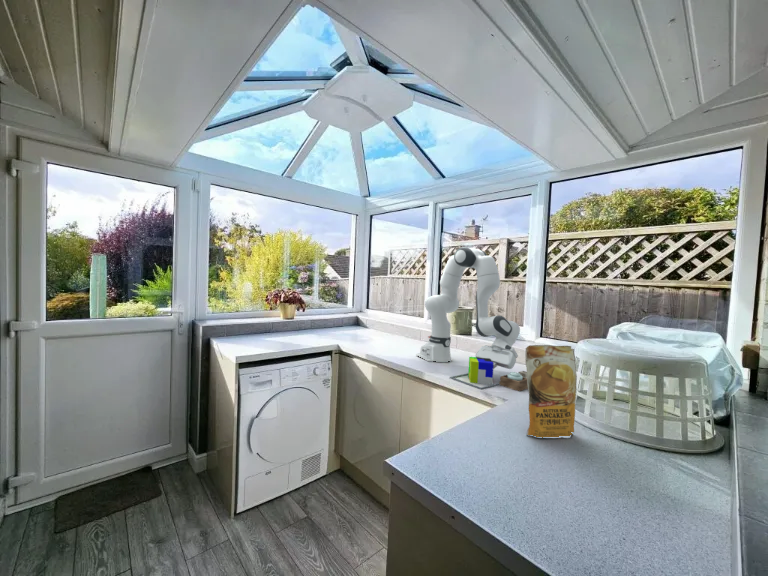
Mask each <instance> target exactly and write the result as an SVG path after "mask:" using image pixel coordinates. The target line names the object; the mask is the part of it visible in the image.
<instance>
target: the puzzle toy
mask: <svg viewBox="0 0 768 576" xmlns="http://www.w3.org/2000/svg"><path fill="white" fill-rule="evenodd" d="M493 364H494V363H493V362H492V361H491V359H490V358H478V357H476V356H469V358H468V372H467V373H468V375H467V377H468V380H469V383H470V384H479V385H480V384H481V385H493V379H494V378H493V377H494V369H493Z"/></svg>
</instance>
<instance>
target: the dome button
mask: <svg viewBox="0 0 768 576" xmlns="http://www.w3.org/2000/svg"><path fill="white" fill-rule="evenodd" d="M507 375H508V378H509V379H512V380H516V381H520V380H522V379H523V376H522V375H520V373H518V371H517V372H516V371H510V372H509V373H507Z"/></svg>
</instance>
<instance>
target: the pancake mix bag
mask: <svg viewBox="0 0 768 576" xmlns="http://www.w3.org/2000/svg"><path fill="white" fill-rule="evenodd" d="M525 367H526V372H527V385H528V389H527V391H528V414H529V424H528V429H527V431H526V436H527V435H533V436H536V437H542V438H543V437H559V436H570V435H572V433H571V432H574V433H575V421H576V420H575V419H576V418H575V417H576V401H577V390H578V389H577V388H578V387H577V379H578V377H577V367H576V356H575V350H574V348H572V346H571V345H550V344H546V345H545V344H544V345H543V344H542V345H541V344H535V345H533V344H532V345H528V346H527V347H525ZM572 436H573V435H572Z"/></svg>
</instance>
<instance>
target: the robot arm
mask: <svg viewBox="0 0 768 576" xmlns="http://www.w3.org/2000/svg"><path fill="white" fill-rule="evenodd" d="M448 258H449V259H448V260H447V263H446V264H445V266H444V269H443V273H442V275H441V277H440V280H439V286H440V287H441V292H440V293H441V294H434V295H431V296H428V297H427V298H426V300H425V303H424V308H425V310H426V311H427V312H428V314H429V316H430V320H431V335H429V336H427V338H428V341H426V343H424V344H422V346H421V347H420V351H419V352H418V353H416V354H415V356H416V355H417V356H416V357H418V356H419V358H420V357H421V358H420V359H422V358H423V359H422V360H424V359H425V361H427V362H433V361H436V362H437V363H449V362H448V361H450V362H452V361H451V360H452V356H451V341H452V340H451V326H452V324H451V322H450V321H449V320H448V316H447V314H450V313H453V312H456V311H457V310H458V309H459V307H460V301H459V299H458V293H459V292H458V290H459V288H460V283H461V282H462V281H461V280H462V277H463V275H464V272H465V270H466V269H467V268H468V269H474V270H475V271H476V279H477V290H476V295H475V308H476V309H475V310H476V320H475V330H476V332H477V334H478V335H479V336H481V337H483V338H488V337H490V336H495V339H494V341H493V343H492V345H483V346H481V347H480V348H479V349H478V350H477V351H476V353H475V355H474V357H478V358H490V359H491V361H492V362H493V363H494V364H493V370H494V369H495V368H497V367H501V368H505V369H507V370H511V369H513V368H514V366H515V364H516V362H517V359H518V356H519V355H518V352H517V351H516V350H515V348H514V347H513V345H514V344H515V343H516V341H517V340H518V338H519V335H520V332H521V327H520V325H519V324H518V323H517V322H516V321H513V320H508V319H507V318H506V317H504V316H503V315H494V316H489V307H488V305H489V299H490V298H491V297H492V295H493V294H495V293H496V292H497V291H498V290H499V288H500V285H501V280H500V279H501V278H500V274H499V268H498V265H497V263H496V259H495V258H494V257H493V256H491V255H488V254H487V253H486V251H484V250H482V249H478V248H475V247H467V246H466V247H465V246H464V247H463V246H462V247H459V248H458V249H456V251H455V252H454V255H451V256H450V257H448ZM436 362H435V363H436Z"/></svg>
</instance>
